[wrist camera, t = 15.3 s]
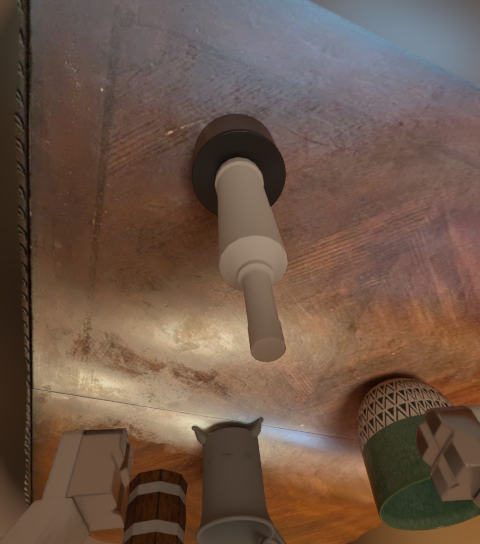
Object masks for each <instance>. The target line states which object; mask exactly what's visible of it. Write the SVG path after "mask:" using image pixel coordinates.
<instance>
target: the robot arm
mask: <svg viewBox="0 0 480 544" xmlns="http://www.w3.org/2000/svg"><path fill="white" fill-rule="evenodd" d="M423 416H424V418H425V421H424V422H422V423H421V424H419V425H418V428H417V430H416V444H417V448H418V451H419V453H420V455H421V457H422V459H423V460H424V461H425V462H426V463H427V464H428V465H430V466H431V473H430V477H431V479H432V481H433V483H434V485H435V488H436V490H437V492H438V494H439V496H440V498H441V500H442V501H454V500H473V499H474V500H473V502H474V503H475V504H476V505H477V506H478V507H479V508H480V405H468V406H451V407H439V408H430V409H428V410H426V412H425V414H424V415H423ZM127 438H128V433H127V430H126V428H114V429H98V430H78V431H65V432H64V433H63V435H62V437H61V438H60V441H59V445H58V448H57V451H56V454H55V458H54V461H53V464H52V467H51V471H50V474H49V477H48V480H47V484H46V487H45V490H44V493H43V497H42V500H35V501H34V502H33V504H32V505H31V506H30V507H29V508H28V509H27V510H26V511H25V512H24V514H23V515H22V516H21V517H20V518H19V519H18V520H17V521H16V522H15V524H14V525H13V526H12V527H11V528H10V529H9V530H8V531H7V532H6V534H5V535H4V536H3V537H2V538H1V539H0V544H83V543H84V541H85V540H86V538H87V537H88V535H89V534H90V532H89V531H95V530H104V529H113V528H122V527H124V525H125V518H126V511H127V504H128V496H127V493H126V490H125V487H126V486H127V485H128V484H129V482H130V481H131V475H132V462H133V455H132V448H131V444H129V443H128V442H127Z"/></svg>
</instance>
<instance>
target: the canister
mask: <svg viewBox="0 0 480 544" xmlns="http://www.w3.org/2000/svg"><path fill="white" fill-rule="evenodd" d="M236 157H241V158H246V159H249V160H250V161H252V162H253V163H255V164H256V165H257V167H258V168H259V170H260V171H261V173H262V176H263V182H264V186H263V187H264V190H265V193H266V196H267V199H268V202H269V205H270V207H271V206H272V205H273V204H274V203H275V202H276V201H277V199H278V198H279V196H280V194H281V192H282V190H283V187H284V184H285V178H286V170H285V164H284V160H283V158H282V156H281V153H280V152H279V150H278V148H277V147H276V145H275V142H274V140H273V138H272V136H271V134H270V132H269V131H268V129H267V128H266V127H265V126H264V125H263V124H262V123H261V122H259V121H258V120H256V119H254V118H253V117H250V116H247V115H243V114H229V115H224V116H221V117H219V118H217V119H215V120H213V121H212V122H210V123H209V124H208V125H207V126H206V127H205V128H204V129H203V130H202V132H201V133H200V135H199V137H198V139H197V142H196V145H195V151H194V164H193V170H192V182H193V187H194V191H195V193H196V195H197V197H198V199H199V200H200V202H201V203H202V204H203V205H204V206H205V207H206V208H207V209H208V210H209V211H211V212H212V213H214V214H216V215H218V195H217V192H216V188H215V179H216V173H217V171H218V170H219V168H220V167H221V165H222V164H223V163H225V162H226V161H228V160H229V159H232V158H236Z"/></svg>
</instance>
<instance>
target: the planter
mask: <svg viewBox="0 0 480 544" xmlns="http://www.w3.org/2000/svg"><path fill="white" fill-rule="evenodd" d="M451 406H453V405H452V403H451V402H450V401H449V400H448V399H447V398H446V397H445V396H444V395H443V394H442V393H441V392H439V391H438V390H437V389H435V388H434V387H432V386H431V385H429V384H427V383H424V382H422V381H419V380H415V379H410V378H394V379H389V380H386V381H383V382H381V383H379V384H377V385H376V386H374V387H373V388H372V389H371V390H370V391H369V392H368V393H367V394H366V395H365V397H364V398H363V400H362V402H361V404H360V406H359V409H358V412H357V436H358V441H359V445H360V449H361V452H362V456H363V460H364V464H365V467H366V471H367V474H368V478H369V481H370V485H371V489H372V493H373V497H374V500H375V504H376V507H377V510H378V514H379V517H380V519H381V520H382V522H383V523H385V524H386V525H388V526H390V527H393V528H396V529H402V530H430V529H436V528H442V527H447V526H451V525H454V524H458V523H461V522H464V521H466V520H469V519H471V518H474V517H476V516H478V515H480V508H479V507H478V506H477V505H476V504H475V503H474V502H473V500H474V499H473V500H454V501H442V500H441V498H440V496H439V494H438V492H437V490H436V488H435V485H434V483H433V481H432V479H431V477H430V473H431V466H430V465H428V464H427V463H426V462H425V461H424V460H423V459H422V457H421V455H420V453H419V451H418V448H417V444H416V430H417V428H418V425H419V424H421V423H422V422H424V421H425V418H424V416H423V415H424V414H425V412H426V410H428V409H430V408H439V407H451Z"/></svg>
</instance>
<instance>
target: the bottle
mask: <svg viewBox="0 0 480 544" xmlns="http://www.w3.org/2000/svg"><path fill="white" fill-rule="evenodd" d="M263 186H264V182H263V176H262V173H261V171H260V170H259V168H258V167H257V165H256V164H255V163H253V162H252V161H250V160H249V159H246V158H241V157H236V158H232V159H229V160H228V161H226V162H225V163H223V164H222V165H221V167H220V168H219V170H218V171H217V173H216V179H215V188H216V192H217V195H218V243H219V269H220V272H221V276H222V278H223V279H224V280H225V281H226V282H227V283H228V285H229V286H231V287H233V288H236V289H238V290H240V291H244V297H245V304H246V312H247V319H248V334H249V342H250V350H251V354H252V356H253V357H254V358H255V359H256V360H259V361H262V362H270V361H275V360H277V359H279V358H280V357H281V356H282V355H283V354H284V353H285V350H286V346H285V341H284V337H283V332H282V328H281V323H280V321H279V319H278V314H277V309H276V305H275V300H274V296H273V291H272V286H273V285H275V284H276V283H277V282H278V281H279V280H280V279H281V278H282V277H283V275H284V274H285V271H286V268H287V265H288V262H287V255H286V251H285V248H284V245H283V242H282V239H281V236H280V234H279V231H278V228H277V225H276V222H275V219H274V216H273V213H272V210H271V208H270V205H269V202H268V199H267V196H266V193H265V190H264V187H263Z"/></svg>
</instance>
